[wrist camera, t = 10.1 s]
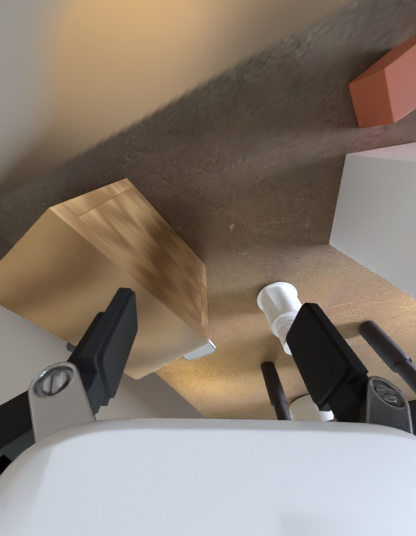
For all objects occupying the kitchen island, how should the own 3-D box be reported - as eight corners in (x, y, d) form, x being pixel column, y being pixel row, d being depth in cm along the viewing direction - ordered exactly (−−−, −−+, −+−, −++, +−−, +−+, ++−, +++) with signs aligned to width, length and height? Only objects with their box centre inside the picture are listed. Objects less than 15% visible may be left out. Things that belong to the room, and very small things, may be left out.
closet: (70, 232, 27) (-38, 301, 15) (126, 177, 24) (48, 207, 11) (152, 300, 34) (125, 385, 22) (205, 265, 31) (209, 342, 18)
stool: (251, 500, 25) (596, 442, 17) (229, 352, 42) (393, 292, 35) (286, 516, 32) (537, 480, 25) (255, 384, 50) (395, 340, 43)
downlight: (305, 296, 35) (339, 343, 26) (274, 317, 37) (296, 367, 29) (277, 272, 32) (306, 317, 23) (246, 297, 34) (261, 346, 26)
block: (347, 84, 20) (383, 68, 16) (395, 46, 19) (448, 18, 15) (359, 128, 22) (393, 123, 18) (403, 96, 21) (451, 84, 17)
